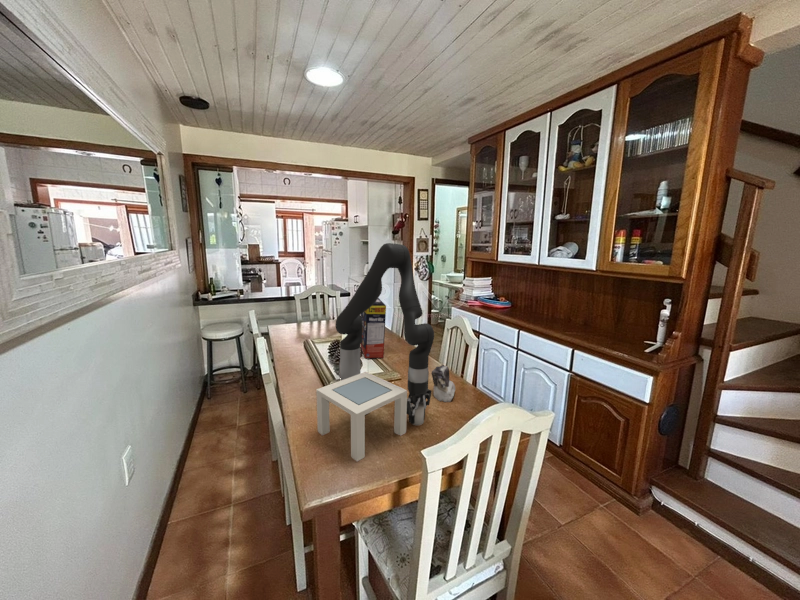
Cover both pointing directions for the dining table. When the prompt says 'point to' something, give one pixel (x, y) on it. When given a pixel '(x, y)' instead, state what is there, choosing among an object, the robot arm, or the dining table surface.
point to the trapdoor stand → (360, 410)
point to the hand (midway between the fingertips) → (416, 419)
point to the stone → (442, 384)
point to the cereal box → (373, 330)
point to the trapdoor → (361, 391)
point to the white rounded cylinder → (419, 414)
